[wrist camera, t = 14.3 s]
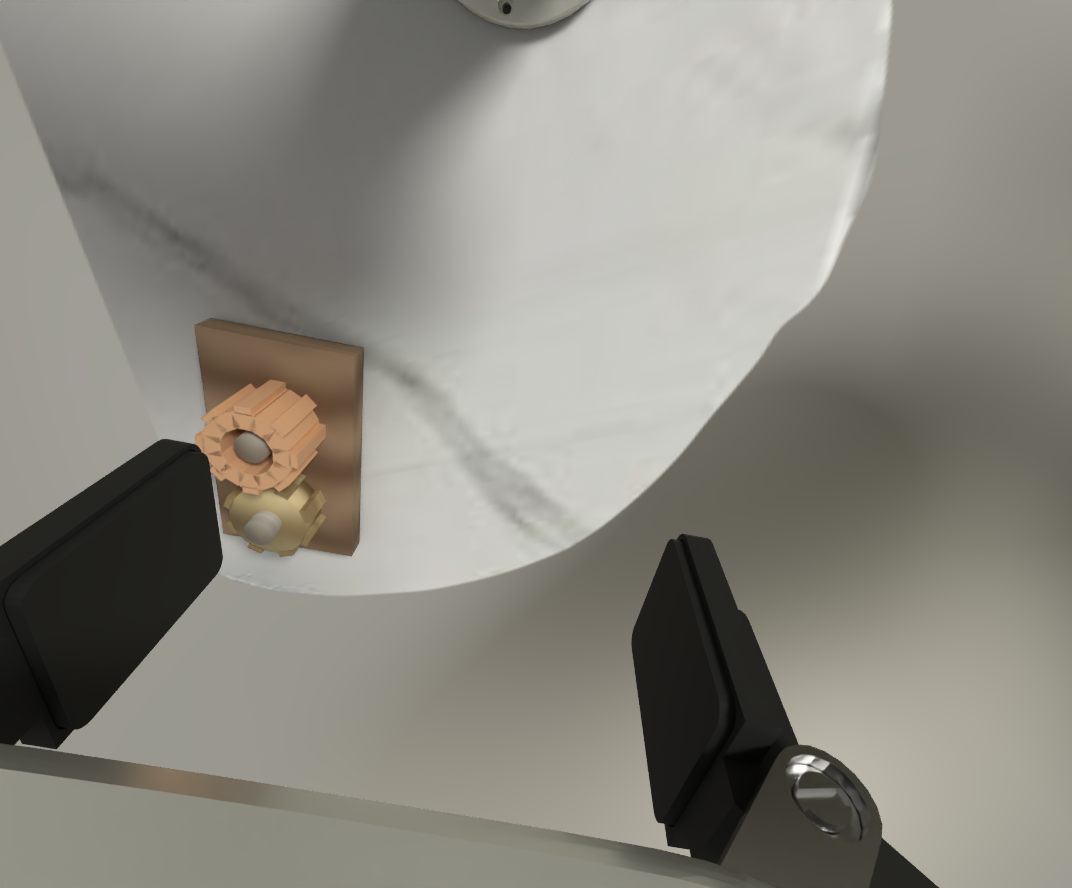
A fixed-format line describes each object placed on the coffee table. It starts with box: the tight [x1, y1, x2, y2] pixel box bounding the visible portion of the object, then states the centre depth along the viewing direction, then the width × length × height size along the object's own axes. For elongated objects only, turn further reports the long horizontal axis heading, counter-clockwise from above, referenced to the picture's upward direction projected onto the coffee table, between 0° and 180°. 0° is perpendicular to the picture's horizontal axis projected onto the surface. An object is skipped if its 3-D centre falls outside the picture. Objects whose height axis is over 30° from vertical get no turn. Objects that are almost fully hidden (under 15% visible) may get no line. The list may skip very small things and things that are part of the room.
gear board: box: [194, 318, 364, 557], centre depth 42 cm, size 20×12×6 cm, turn 170°
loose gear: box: [195, 380, 326, 495], centre depth 40 cm, size 7×7×5 cm
